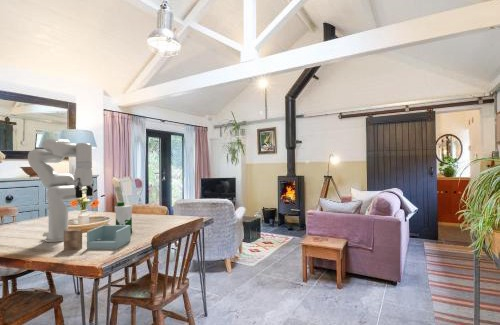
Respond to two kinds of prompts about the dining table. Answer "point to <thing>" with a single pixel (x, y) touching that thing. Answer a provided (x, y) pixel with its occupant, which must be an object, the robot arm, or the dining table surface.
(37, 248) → the dining table surface
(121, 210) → the milk carton
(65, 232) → the tan upright block
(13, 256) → the dining table surface
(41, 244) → the dining table surface
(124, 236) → the teal open bin
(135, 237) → the dining table surface
